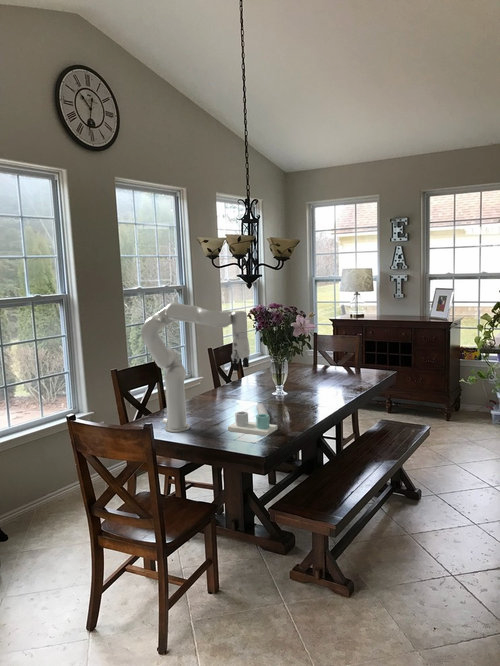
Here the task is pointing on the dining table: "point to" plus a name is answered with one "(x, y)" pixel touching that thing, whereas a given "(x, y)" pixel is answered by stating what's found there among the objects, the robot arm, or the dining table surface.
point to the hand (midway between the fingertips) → (241, 368)
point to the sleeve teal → (262, 421)
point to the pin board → (252, 429)
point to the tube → (262, 409)
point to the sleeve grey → (241, 418)
